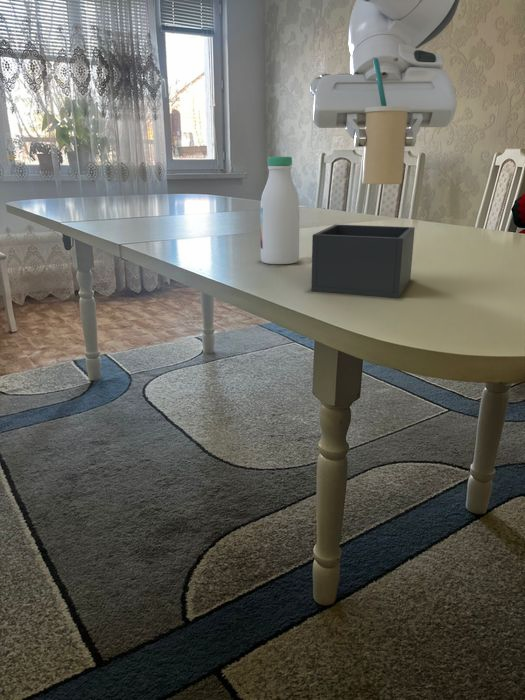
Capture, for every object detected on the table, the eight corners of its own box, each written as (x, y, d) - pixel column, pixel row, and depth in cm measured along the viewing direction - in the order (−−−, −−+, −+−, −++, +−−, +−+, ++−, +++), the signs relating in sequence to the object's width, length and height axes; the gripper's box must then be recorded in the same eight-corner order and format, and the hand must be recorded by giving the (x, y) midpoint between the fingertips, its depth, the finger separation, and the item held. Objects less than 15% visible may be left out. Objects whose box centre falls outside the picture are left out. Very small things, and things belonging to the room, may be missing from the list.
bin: (410, 279, 93) (414, 227, 90) (398, 298, 81) (403, 238, 78) (333, 274, 98) (334, 224, 95) (311, 290, 86) (312, 234, 83)
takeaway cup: (405, 182, 80) (416, 58, 74) (399, 184, 74) (410, 51, 69) (365, 181, 82) (372, 61, 76) (356, 184, 77) (363, 55, 71)
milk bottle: (306, 261, 109) (308, 156, 103) (280, 266, 104) (280, 156, 97) (279, 256, 115) (279, 156, 108) (252, 261, 110) (251, 156, 103)
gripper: (311, 56, 79) (311, 125, 73) (453, 54, 78) (465, 124, 72) (310, 93, 85) (310, 160, 79) (442, 92, 84) (452, 159, 78)
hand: (385, 143), depth 76 cm, fingers closed on takeaway cup, 5 cm apart
